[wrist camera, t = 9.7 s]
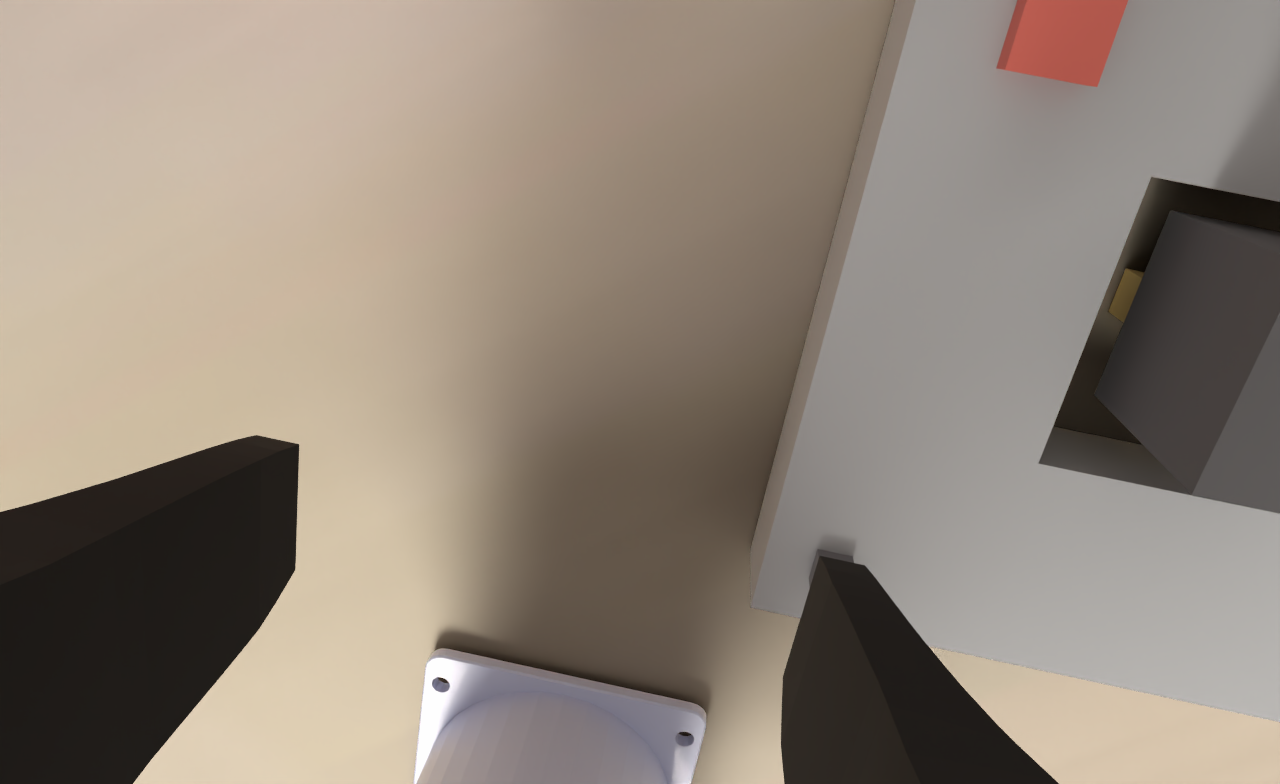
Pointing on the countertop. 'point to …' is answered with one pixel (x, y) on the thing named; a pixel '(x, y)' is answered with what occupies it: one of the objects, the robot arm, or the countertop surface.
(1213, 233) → the plug
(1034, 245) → the socket plate
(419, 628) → the countertop surface
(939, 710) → the robot arm
